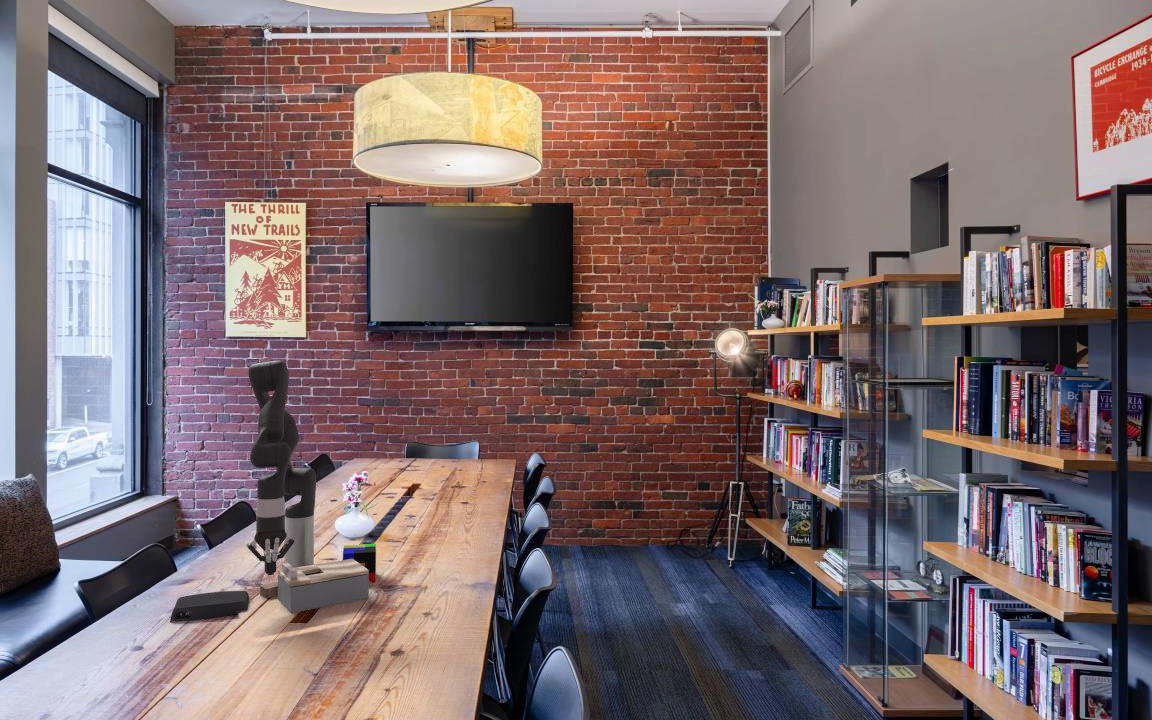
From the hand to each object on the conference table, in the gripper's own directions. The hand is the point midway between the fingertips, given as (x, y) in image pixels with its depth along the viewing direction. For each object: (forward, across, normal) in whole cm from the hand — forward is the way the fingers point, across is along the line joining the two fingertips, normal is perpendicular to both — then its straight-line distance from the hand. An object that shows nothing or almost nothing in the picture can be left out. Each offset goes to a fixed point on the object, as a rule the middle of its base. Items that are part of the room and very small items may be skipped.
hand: (270, 574), depth 210 cm
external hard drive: (+11, -14, +9) cm, 20 cm away
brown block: (+9, 0, +10) cm, 13 cm away
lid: (+2, +14, -1) cm, 15 cm away
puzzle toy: (+11, +30, +14) cm, 35 cm away
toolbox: (+10, +14, -1) cm, 18 cm away
